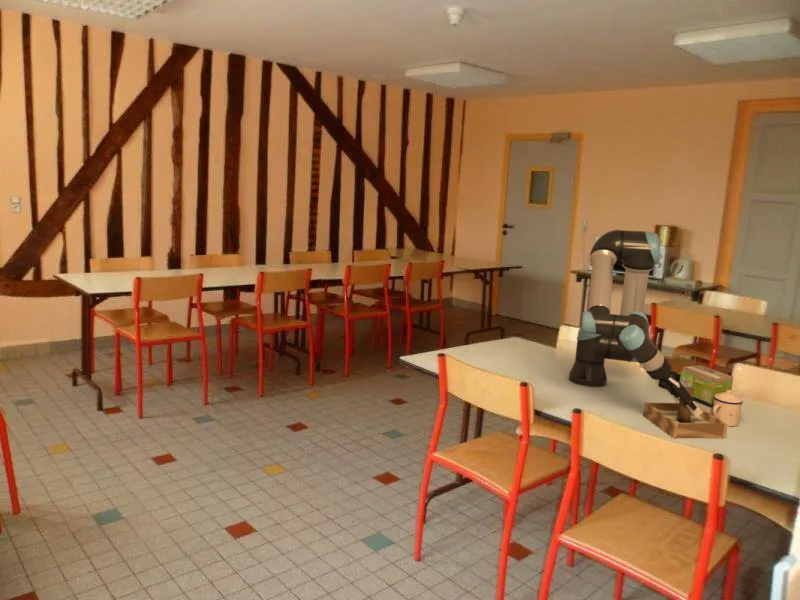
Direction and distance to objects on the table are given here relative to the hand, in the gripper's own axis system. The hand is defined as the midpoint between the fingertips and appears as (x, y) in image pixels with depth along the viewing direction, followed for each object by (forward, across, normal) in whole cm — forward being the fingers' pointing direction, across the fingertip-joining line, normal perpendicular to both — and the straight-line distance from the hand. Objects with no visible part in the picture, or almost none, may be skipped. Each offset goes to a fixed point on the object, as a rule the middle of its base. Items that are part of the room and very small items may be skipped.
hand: (695, 412), depth 211 cm
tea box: (+14, -18, +6) cm, 24 cm away
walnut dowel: (0, 0, -5) cm, 5 cm away
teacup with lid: (+13, -4, +5) cm, 15 cm away
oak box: (+1, 0, -6) cm, 7 cm away
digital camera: (+15, -40, +7) cm, 44 cm away
